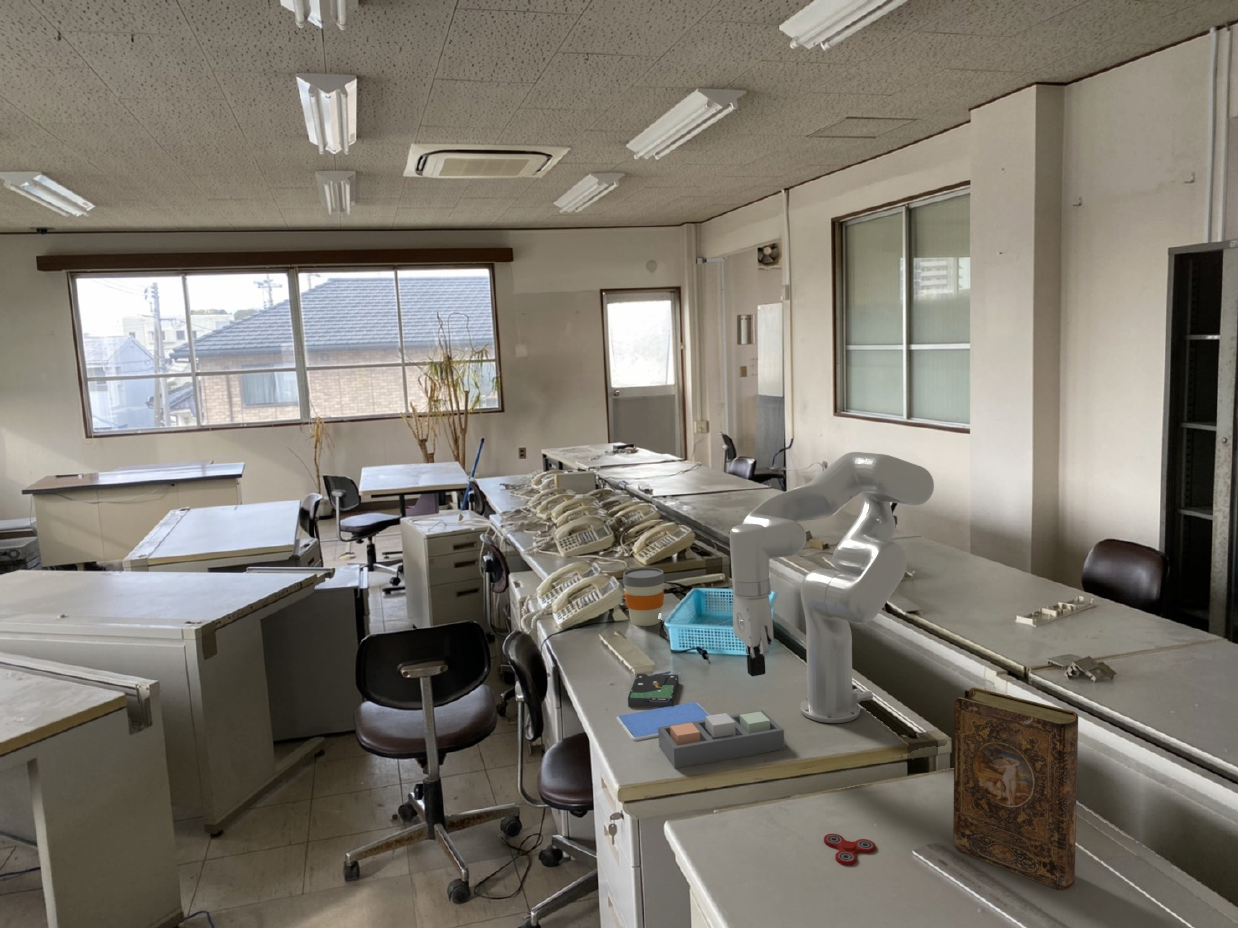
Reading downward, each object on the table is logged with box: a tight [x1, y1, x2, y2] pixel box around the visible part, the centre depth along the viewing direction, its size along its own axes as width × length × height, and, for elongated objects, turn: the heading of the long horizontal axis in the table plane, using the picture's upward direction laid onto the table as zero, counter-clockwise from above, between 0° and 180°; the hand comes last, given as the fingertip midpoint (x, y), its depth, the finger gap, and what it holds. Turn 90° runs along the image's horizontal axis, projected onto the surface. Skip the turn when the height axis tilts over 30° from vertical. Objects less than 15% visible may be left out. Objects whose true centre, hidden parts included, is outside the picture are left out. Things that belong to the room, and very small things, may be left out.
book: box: [952, 686, 1079, 891], centre depth 126 cm, size 16×6×25 cm, turn 45°
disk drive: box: [627, 673, 679, 708], centre depth 197 cm, size 10×3×15 cm
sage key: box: [740, 711, 770, 734], centre depth 171 cm, size 5×5×2 cm
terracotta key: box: [670, 723, 700, 746], centre depth 167 cm, size 5×5×2 cm
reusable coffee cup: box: [622, 567, 666, 627], centre depth 252 cm, size 12×13×15 cm
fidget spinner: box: [823, 833, 877, 867], centre depth 133 cm, size 8×7×1 cm
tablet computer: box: [616, 701, 711, 742], centre depth 182 cm, size 19×13×1 cm, turn 107°
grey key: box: [705, 712, 735, 738], centre depth 169 cm, size 5×5×2 cm
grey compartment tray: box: [658, 710, 785, 769], centre depth 169 cm, size 23×10×4 cm, turn 105°
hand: (756, 673), depth 170 cm, fingers closed
